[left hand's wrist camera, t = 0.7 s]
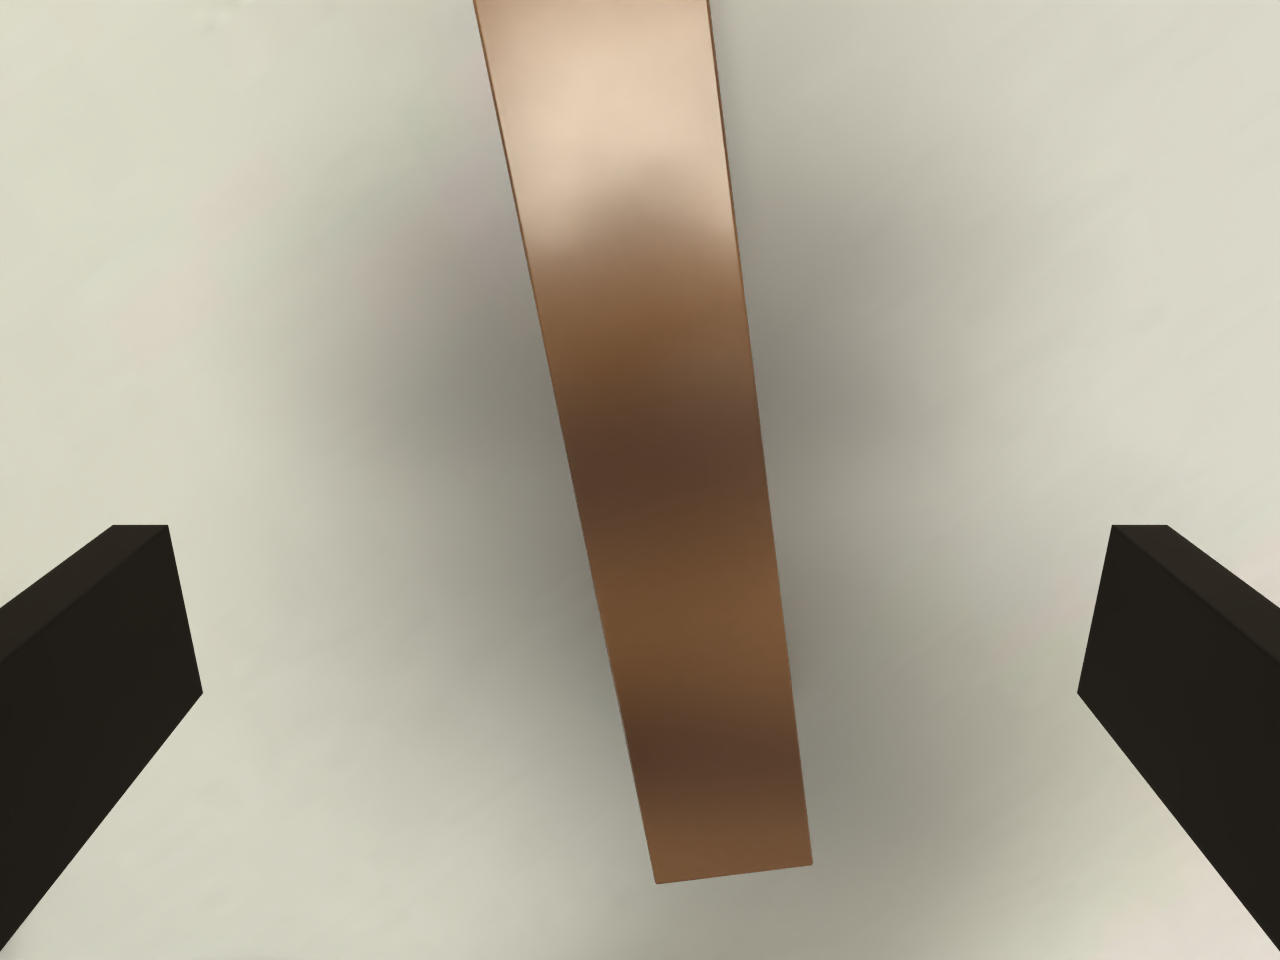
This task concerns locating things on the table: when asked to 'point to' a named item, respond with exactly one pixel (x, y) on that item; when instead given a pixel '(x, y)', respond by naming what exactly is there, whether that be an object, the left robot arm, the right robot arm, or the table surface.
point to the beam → (657, 409)
